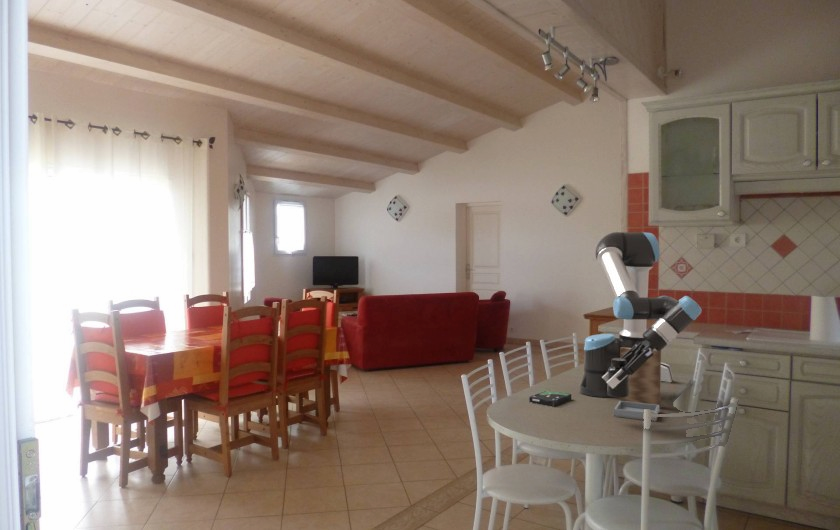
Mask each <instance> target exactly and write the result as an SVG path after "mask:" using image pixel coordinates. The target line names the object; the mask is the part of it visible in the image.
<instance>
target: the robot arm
mask: <svg viewBox="0 0 840 530" xmlns="http://www.w3.org/2000/svg"><path fill="white" fill-rule="evenodd" d="M660 250H661V249H660V245H659V241H658V239H657V236H655V234H653V233H651V232H645V231H644V232H643V231H636V232H635V231H632V232H631V231H630V232H625V231H624V232H623V231H622V232H619V231H615V232H610V233H608V234H606V235H604V236H603V237H602V238H601V239H600V240H599V242H598V243H597V245H596V248H595V260H596V261H597V264H598V265H599V266H600V267H601V268H602V269H603V270H604V273H605V276H606V277H607V281H608V283H609V286H610V288H611V290H612V293H613V294H614V297H615V298H614V299H613V303H612V309H613V315H614V317H615V318H616V319H619V320H623V329H622V330H621V331H619V334H618V337H616V335H614V334H612V333H606V334H605V333H601V334H599V333H598V334H593V335H589V336H587V337H585V339H584V346H583V351H584V352H583V355H584V358H583V360H584V361H583V364H584V366H583V375H582V378H581V381H580V383H579V389H578V390H579V394H582V395H585V396H591V397H596V398H597V397H599V398H600V397H601V398H609V397H610V398H611V397H612V396H609V395H608V394H607V384H608V385H609V386H610V387H611V388H612V389H613V388H614V387H615V386H617V385H618V384H619V383H620V382H621V381H622V380H623V379H624V378H625V377H626V376H627V375H632V374H633V373H634V372H635V371H636V370H637V369H639V368H640V367H641V366H642V365H643V364H644V363H645V362H646V361H647V360H648V359H649V358H650V357H651V356H653V355H654V354H653V353H652V351H653V350H657V351H661V352H662V350H664V349H665V348H666V347H667V346H668V343H671V341H673V340H676V339H677V336H678V335H679V334H681V332H683V330H685V329H686V328H688V326H689V325H691V324H692V323H693V322H694V321H696V320H697V318H698V317H699V316H700V315H701V314H702V311H703V309H702V308H701V307H700V305H699V304H698V303H697V302H696V300H694V299H693V298H691V297H690V296H688V295H684V296H683V297H682V298H680V299H679V300H678V299H675V298H674V297H672V296H669V295H661V296H658V297H648V294H649V277H650V275H649V272H650V270H652V269H653V268H654V263H657V262H658V261H659V257H660V256H661V255H660V252H661V251H660ZM647 320H655V322H654V323H653V324H652V325H651V327H650V328H648V329H647ZM621 347H625V348H631V349H630V350H629V351H627V352H626V353H625V354H624V355H623V356H622V357H621V359H626V360H627V365H626V366H625V367H621V369H620V370H619V371H618V372H617V373H616V374H615V375H614V376H613V377H612V378H611V379H610V380H608V369H609V367H611V366H612V365H611V359H613V358H620V348H621Z"/></svg>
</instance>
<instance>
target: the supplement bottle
mask: <svg viewBox="0 0 840 530" xmlns="http://www.w3.org/2000/svg"><path fill="white" fill-rule="evenodd" d="M611 365H612V366H611V367H609V369H608V380H610V379H611V378H612V377H613V376H614V375H615V374H616V373H617V372H618V371H619V370H620V369H621V367H625V366H626V365H627V360H626V359H621V358H613V359H611ZM607 394H608V395H609V396H612V397H613V398H625V397H628V395H629V375H627V376H626V377H625V378H624V379H623V380H622V381H621V382H620V383H619V384H618V385H617V386H615V387H614V388H613V389H612V388H611V387H610V386H609V385H608V384H607Z"/></svg>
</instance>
